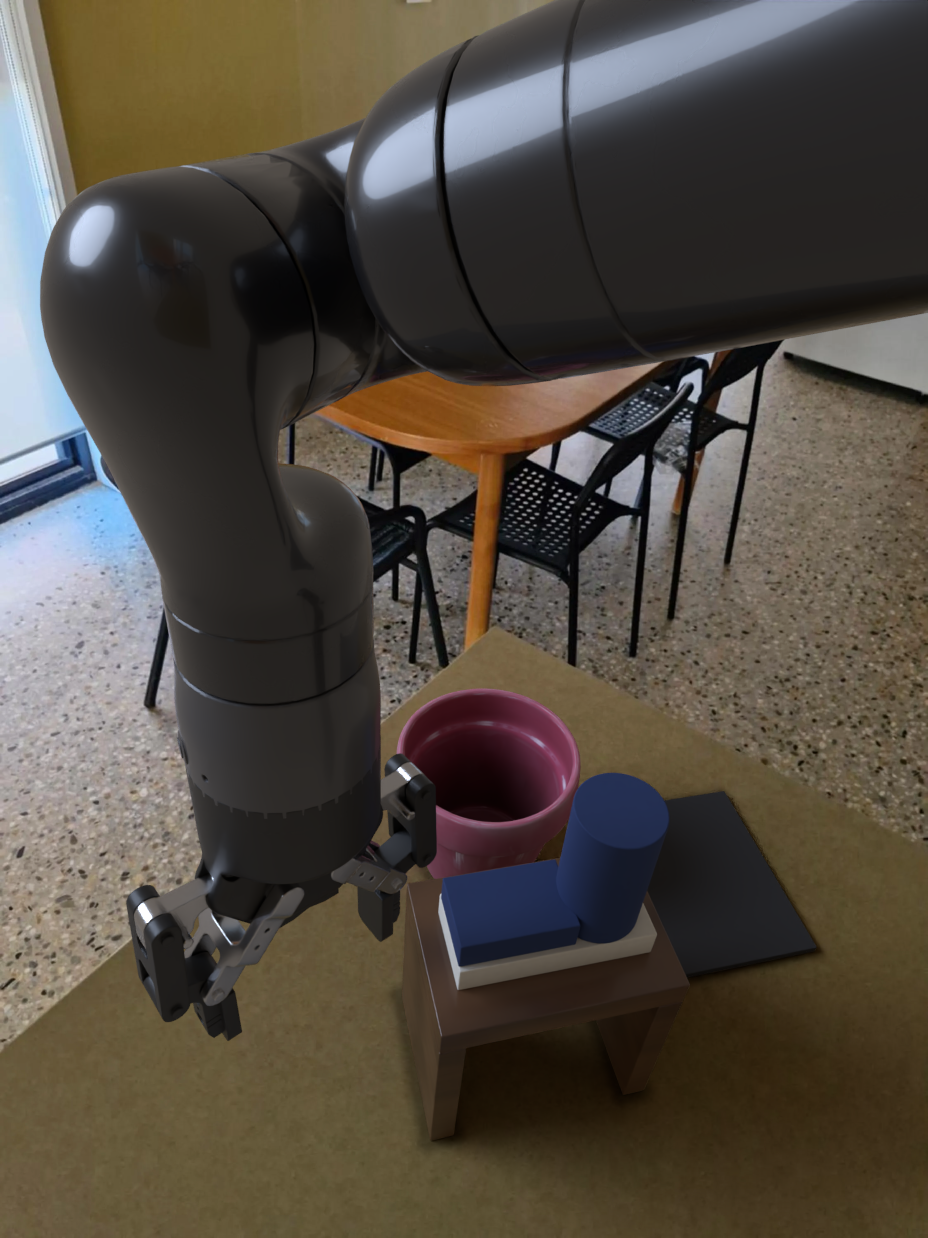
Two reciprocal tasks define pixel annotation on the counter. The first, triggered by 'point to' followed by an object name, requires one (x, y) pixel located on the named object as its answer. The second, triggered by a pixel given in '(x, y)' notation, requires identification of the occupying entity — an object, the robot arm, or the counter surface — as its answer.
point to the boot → (563, 892)
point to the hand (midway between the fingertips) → (304, 972)
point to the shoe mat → (720, 891)
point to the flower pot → (492, 776)
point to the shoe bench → (529, 1006)
